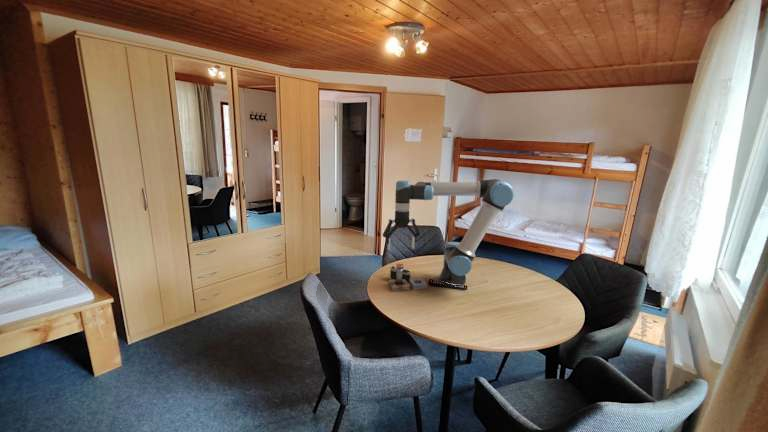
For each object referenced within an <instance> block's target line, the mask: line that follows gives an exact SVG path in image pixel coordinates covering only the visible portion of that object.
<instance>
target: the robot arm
mask: <svg viewBox="0 0 768 432" xmlns="http://www.w3.org/2000/svg"><path fill="white" fill-rule="evenodd" d="M434 196H435V197H437V196H439V197H445V196H446V197H457V196H458V197H461V196H465V197H468V196H469V197H472V196H473V197H475V198H476V197H477V198H478V199H479V198H481V204H482V205H481V206H480V208H479V210H478V211H477V214H476V215H475V217H474V219H473V220H472V221H471V224H470V225H469V228H468V229H467V230H466V232H465V234H464V236H463V238H462V240H461V241H460V242H458V241H449V242H446V243H444V245H445V246H444V256H443V257H444V258H443V268H442V269H441V271H440V274H439V281H440V280H441V281H444V282H448V283H453V284H462V285H461V286H463V285H465V284H466V283H467V282H466V280H467V278H466V275H467V274H469V273H470V272H471V270H472V268H473V267H472V266H473V265H472V262H473V261H474V259H475V257H476V254H475V253H476V250H477V248H478V246H479V245H480V243H481V242H482V240H483V239H484V237H485V235H486V233H487V232H488V230H489V229H490V226H491V224H492V223H493V221H494V220H495V218H496V217H497V215H498V213H501V212H503V211H504V209H505V207H507V206H508V205H509V204H511V203H512V201H513V200H514V198H515V191H514V188H513V187H512V185H511V184H510V183H508V182H506V181H503V180H500V179H496V178H493V179H491V178H490V179H480V180H479V179H478V180H477V181H460V182H459V181H455V182H454V181H446V182H444V181H437V182H435V181H434V182H433V181H428V182H425V181H418V182H416V183H415V184H412V183H411V181H410V180H397V181H396V183H395V201H394V202H395V203H394V204H395V206H394V208H395V210H394V219H390V218H389V219H388V223H387V226H386V227H385V229H384V231H383V233H382V237H383V238H385V244H386V245H387V250H388V251H391V236H392V235H393V234H394V233H395V231H396V230H397V229H398V228H399V229H402V228H403V229H405V228H406V229H407V230H408V231H409V232H410V234H412V235H411V248H412V249H413V250H415V244H416V243H417V241H418V240H417V238H418V237H419V236H421V233H420V231H419V228H418V226H417V224H416V219H414V218H413V217H412V218H410V207H411V206H410V204H411V201H410V200H415V201H416V200H417V201H418V200H421V201H422V200H423V201H432V200H433V199H434ZM410 223H411V225H412V228H414V230H413V229H412V228H411V226H410V225H409V224H410ZM393 224H394V225H393ZM392 225H393V226H392ZM441 281H440V282H441Z"/></svg>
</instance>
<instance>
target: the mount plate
mask: <svg viewBox="0 0 768 432" xmlns="http://www.w3.org/2000/svg"><path fill="white" fill-rule="evenodd" d="M409 285H410V288H411V289H412V290H424V289H426V290H427V289H428V284H427V282H426V281H425V280H424V278H410V279H409Z"/></svg>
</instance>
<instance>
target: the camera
mask: <svg viewBox="0 0 768 432" xmlns="http://www.w3.org/2000/svg"><path fill="white" fill-rule="evenodd" d="M411 275H412V273H411V271H410V270H408V269H405V268H404V267H403V272H402V279H406V281H407V282H408V284H409V279H411ZM396 276H397V267H396V266H394V265H392V266H391V267H390V277H389V278H390V279H389V280H396ZM409 285H410V284H409Z"/></svg>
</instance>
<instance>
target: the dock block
mask: <svg viewBox="0 0 768 432" xmlns="http://www.w3.org/2000/svg"><path fill="white" fill-rule="evenodd" d="M387 285H388V287H389V288H390V290H391V293H396V292H410V291H411V286H410V284H408V282H407V281H406V279H402V285H396V280H393V279H388V280H387Z"/></svg>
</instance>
